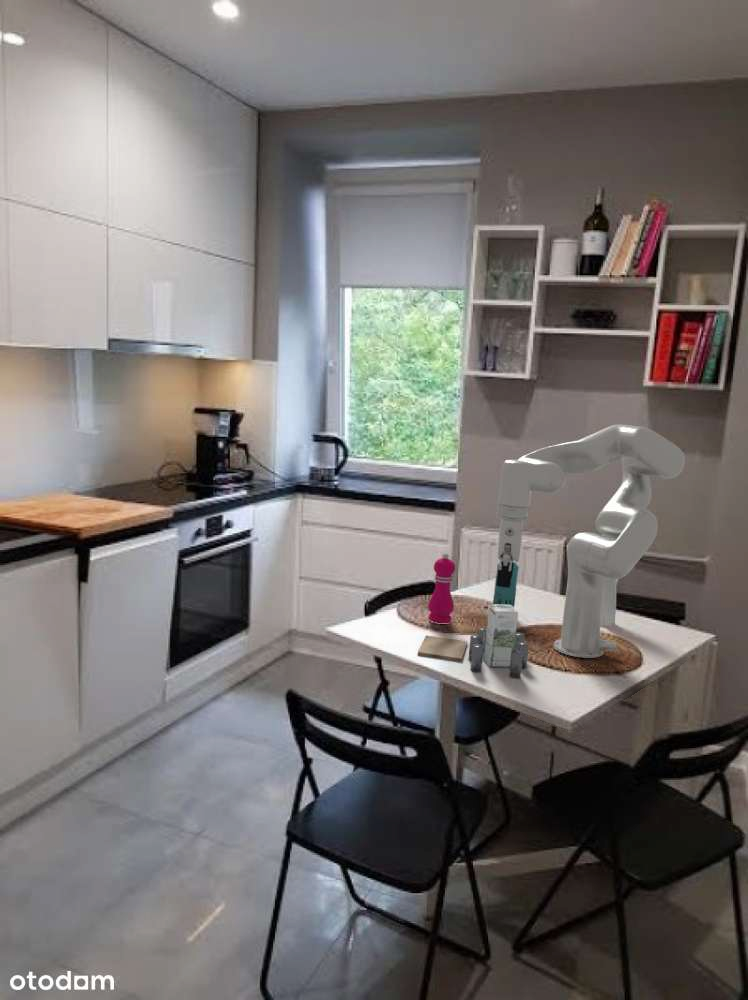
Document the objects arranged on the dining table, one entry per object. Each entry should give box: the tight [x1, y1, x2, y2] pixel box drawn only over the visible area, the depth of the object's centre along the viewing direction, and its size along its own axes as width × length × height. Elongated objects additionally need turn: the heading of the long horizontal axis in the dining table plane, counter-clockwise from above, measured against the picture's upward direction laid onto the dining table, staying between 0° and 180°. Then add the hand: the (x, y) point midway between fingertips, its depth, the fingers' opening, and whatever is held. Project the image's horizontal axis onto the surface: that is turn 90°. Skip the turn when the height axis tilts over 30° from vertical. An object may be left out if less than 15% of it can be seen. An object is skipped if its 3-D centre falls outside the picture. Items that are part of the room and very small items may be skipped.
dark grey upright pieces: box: [468, 626, 530, 679], centre depth 185 cm, size 14×16×6 cm
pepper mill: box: [427, 552, 456, 623], centre depth 213 cm, size 7×7×20 cm
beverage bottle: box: [492, 561, 520, 608], centre depth 222 cm, size 6×7×20 cm
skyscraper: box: [600, 534, 620, 628], centre depth 222 cm, size 8×8×28 cm
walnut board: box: [417, 635, 468, 662], centre depth 192 cm, size 11×13×1 cm
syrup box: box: [483, 603, 519, 668], centre depth 185 cm, size 6×6×14 cm
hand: (504, 581), depth 182 cm, fingers open, 9 cm apart
